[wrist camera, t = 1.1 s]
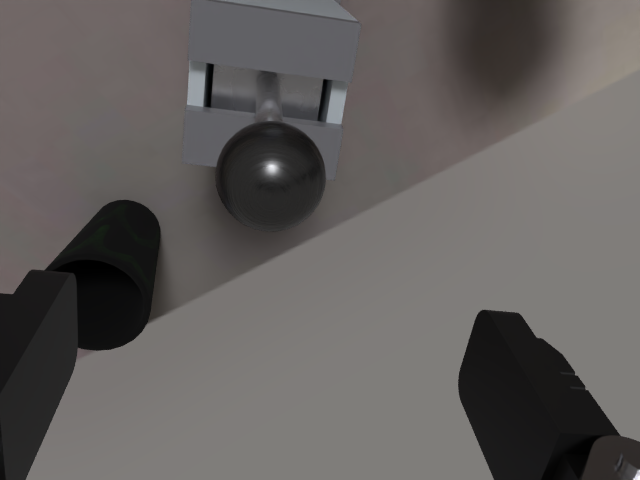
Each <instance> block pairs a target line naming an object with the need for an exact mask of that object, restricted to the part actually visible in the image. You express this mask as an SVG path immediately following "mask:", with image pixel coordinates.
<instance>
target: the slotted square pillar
mask: <svg viewBox="0 0 640 480" xmlns="http://www.w3.org/2000/svg"><path fill="white" fill-rule="evenodd" d="M340 1H341V0H191V11H190V29H189V46H188V60H189V61H190V64H189V82H188V99H187V106H186V108H185V118H184V135H183V153H182V163H185V164H194V165H202V166H211V167H216V165H217V161H218V158H219V155H220V153H221V151H222V149H223V147H224V146H225V144H226V143H227V141H228V140H229V139H230V138H231V137H232V136H233V135H234V134H235V133H236V132H238V131H239V130H241V129H242V128H244V127H246V126H248V125H250V124H253V123H255V113H248V112H241V111H233V110H225V109H217V108H211V98H212V85H213V71H214V64H218V65H226V66H233V67H240V68H248V69H255V70H262V71H270V72H277V73H284V74H292V75H299V76H306V77H314V78H321V79H323V85H322V92H321V98H320V105H319V112H318V118H317V121H312V120H304V119H296V118H288V117H283V122H284V123H287V124H290V125H292V126H294V127H296V128H298V129H300V130H301V131H303V132H304V133H305V134H306V135H308V136H309V137H310V138H311V139H312V140H313V142H314V143H315V144H316V146H317V147H318V149H319V151H320V153H321V155H322V158H323V161H324V165H325V171H326V180H335V176H336V170H337V164H338V158H339V152H340V146H341V141H342V135H343V127H342V125H341V122H342V116H343V110H344V104H345V98H346V92H347V86H348V82H350V83H351V82H352V76H353V70H354V64H355V58H356V52H357V46H358V41H359V35H360V29H361V23H360V22H359V21H358V20H356V19H355V18H354V17H353V16H352V15H351V14H349V13H348V12H347V11H346V10H345V9H344V8H343V7H341V6H340Z"/></svg>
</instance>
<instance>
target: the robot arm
mask: <svg viewBox="0 0 640 480" xmlns="http://www.w3.org/2000/svg"><path fill="white" fill-rule="evenodd" d="M77 349H78V322H77V284H76V277H75V275H74V273H67V272H55V271H44V270H31V271H29V272H28V274H27V275H26V277H25V278H24V279H23V281H22V282H21V284H20V285H19V286H18V288H17V289H16V291H15V292H14V294H2V293H0V480H26V477H27V475H28V472H29V470H30V468H31V466H32V464H33V461H34V459H35V457H36V455H37V452H38V450H39V448H40V446H41V443H42V441H43V439H44V437H45V434H46V432H47V430H48V427H49V425H50V423H51V421H52V418H53V416H54V414H55V412H56V409H57V407H58V405H59V403H60V400H61V398H62V396H63V394H64V391H65V389H66V387H67V385H68V382H69V380H70V378H71V375H72V373H73V370H74V366H75V362H76V357H77ZM458 381H459V382H458V387H459V396H460V400H461V403H462V405H463V407H464V409H465V412H466V414H467V417H468V419H469V422H470V424H471V426H472V429H473V431H474V433H475V436H476V438H477V440H478V443H479V445H480V447H481V450H482V452H483V455H484V457H485V459H486V462H487V464H488V466H489V469H490V471H491V473H492V476H493V478H494V480H640V442H639V441H636V440H634V439H630V438H627V437H623V436H620V434H619V433H618V432H617V430H616V429H615V427H614V426H613V425H612V423H611V422H610V420H609V419H608V418H607V417H606V415H605V413H604V412H603V411H602V409H601V408H600V406H599V405H598V404H597V402H596V401H595V399H594V398H593V397H592V395H591V394H590V393H589V391H588V390H585V385H584V384H583V383H582V381H581V380H580V378H579V377H578V376H575V371H574V370H573V369H572V367H571V366H570V364H569V363H568V362H567V360H566V359H565V358H564V356H563V355H562V354H561V353H560V352H559V351H557V350H556V349H555V348H553V347H552V346H551V345H550V344H548V343H547V342H546V341H545V340H543V339H541V338H536V336H535V335H534V333H533V332H532V330H531V329H530V327H529V326H528V324H527V323H526V322H525V320H524V319H523V317H522V316H521V315H520V314H519V313H515V312H503V311H491V310H482V311H480V312H479V313H478V315H477V317H476V319H475V323H474V325H473V329H472V332H471V335H470V339H469V342H468V345H467V348H466V352H465V355H464V358H463V362H462V365H461V368H460V372H459V380H458Z"/></svg>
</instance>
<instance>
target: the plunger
mask: <svg viewBox="0 0 640 480" xmlns="http://www.w3.org/2000/svg"><path fill="white" fill-rule="evenodd" d="M322 85H323V79H321V78H314V77H306V76H299V75H292V74H284V73H277V72H270V71H262V70H255V69H248V68H240V67H233V66H226V65H218V64H214V71H213V85H212V98H211V108H217V109H225V110H233V111H241V112H248V113H255V123H253V124H250V125H248V126H246V127H244V128H242V129H241V130H239V131H238V132H236V133H235V134H234V135H233V136H232V137H231V138H230V139H229V140H228V141H227V143H226V144H225V146H224V147H223V149H222V151H221V153H220V155H219V158H218V161H217V165H216V187H217V190H218V194H219V196H220V199H221V201H222V203H223V204H224V206H225V208H226V209H227V210H228V211H229V213H230V214H231V215H232V216H233V217H234V218H236V219H237V220H238V221H240V222H241V223H243V224H244V225H246V226H248V227H251V228H253V229H257V230H261V231H281V230H286V229H289V228H292V227H294V226H296V225H298V224H299V223H301V222H303V221H304V220H305V219H306V218H308V217H309V216H310V215H311V213H312V212H313V211H314V210H315V209H316V207H317V206H318V204H319V202H320V200H321V198H322V195H323V192H324V188H325V182H326V171H325V165H324V161H323V158H322V155H321V153H320V151H319V149H318V147H317V146H316V144H315V143H314V142H313V140H312V139H311V138H310V137H309V136H308V135H306V134H305V133H304V132H303V131H301V130H300V129H298V128H296V127H294V126H292V125H290V124H287V123H284V122H283V117H288V118H296V119H304V120H312V121H317V118H318V112H319V105H320V98H321V92H322Z"/></svg>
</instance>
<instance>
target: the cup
mask: <svg viewBox="0 0 640 480" xmlns="http://www.w3.org/2000/svg"><path fill="white" fill-rule="evenodd" d="M159 242H160V226H159V223H158V220H157V218H156V217H155V215H154V214H153V213H152V212H151V211H150V210H149V209H148V208H147V207H145V206H144V205H142V204H140V203H137V202H134V201H129V200H117V201H114V202H111V203H109V204H107V205H105V206H104V207H102V208H101V210H100V211H99V212H98V213H97V214H96V215H95V216H94V217H93V218H92V219H91V220H90V221H89V223H88V224H87V225H86V226H85V227H84V228H83V229H82V230H81V231H80V232H79V233H78V234H77V236H76V237H75V238H74V239H73V240H72V241H71V242H70V243H69V244H68V245H67V246H66V248H65V249H64V250H63V251H62V252H61V253H60V254H59V255H58V256H57V257H56V258H55V259H54V261H53V262H52V263H51V264H50V265H49V266H48V267H47V268H46V269H45V270H44V271H55V272H67V273H74V275H75V277H76V284H77V322H78V348H81V349H87V350H96V351H99V350H111V349H114V348H117V347H121V346H123V345H125V344H127V343H129V342H130V341H132V340H134V339H135V338H136V337H137V336H138V335H139V334H140V333H141V332H142V331H143V329H144V328H145V326H146V324H147V322H148V319H149V315H150V311H151V303H152V295H153V288H154V280H155V272H156V265H157V257H158V249H159Z"/></svg>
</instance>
